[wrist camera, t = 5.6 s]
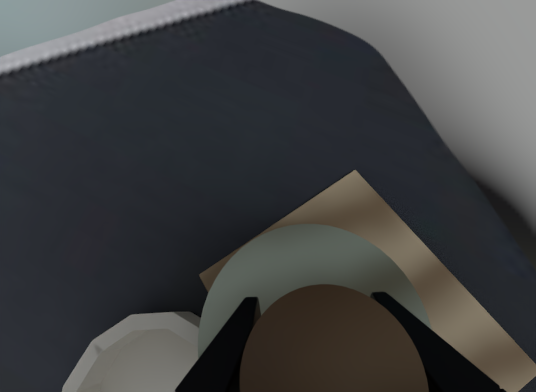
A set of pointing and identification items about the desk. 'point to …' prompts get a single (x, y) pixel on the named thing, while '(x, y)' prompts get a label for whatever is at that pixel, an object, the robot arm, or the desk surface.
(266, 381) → the lid
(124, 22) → the desk surface
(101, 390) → the bowl
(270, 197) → the desk surface
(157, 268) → the desk surface
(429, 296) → the mat
